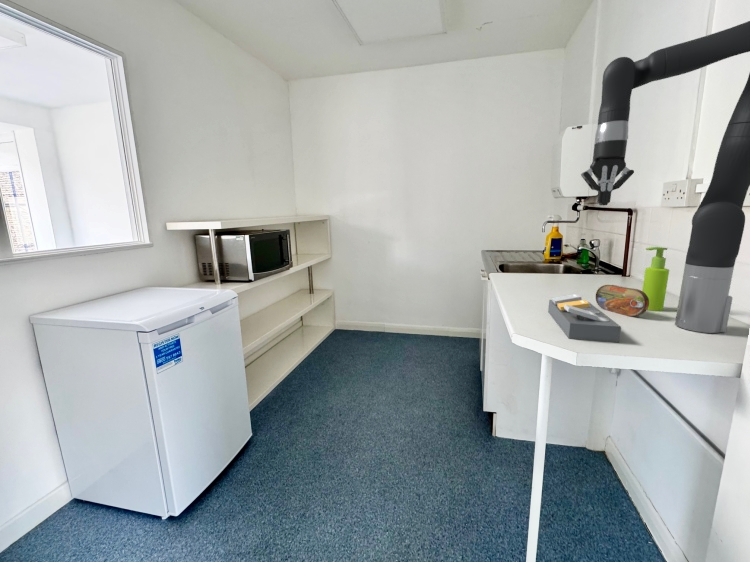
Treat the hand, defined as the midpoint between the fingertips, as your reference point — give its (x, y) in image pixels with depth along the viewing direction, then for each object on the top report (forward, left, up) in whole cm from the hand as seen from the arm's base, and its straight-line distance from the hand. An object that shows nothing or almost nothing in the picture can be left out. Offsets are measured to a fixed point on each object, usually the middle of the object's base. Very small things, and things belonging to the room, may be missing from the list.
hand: (603, 205), depth 98 cm
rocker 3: (+8, +18, -27) cm, 34 cm away
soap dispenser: (-21, -13, -33) cm, 41 cm away
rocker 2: (+8, +11, -27) cm, 31 cm away
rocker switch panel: (+6, +11, -33) cm, 35 cm away
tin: (-10, -6, -33) cm, 35 cm away
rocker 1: (+8, +4, -27) cm, 29 cm away
